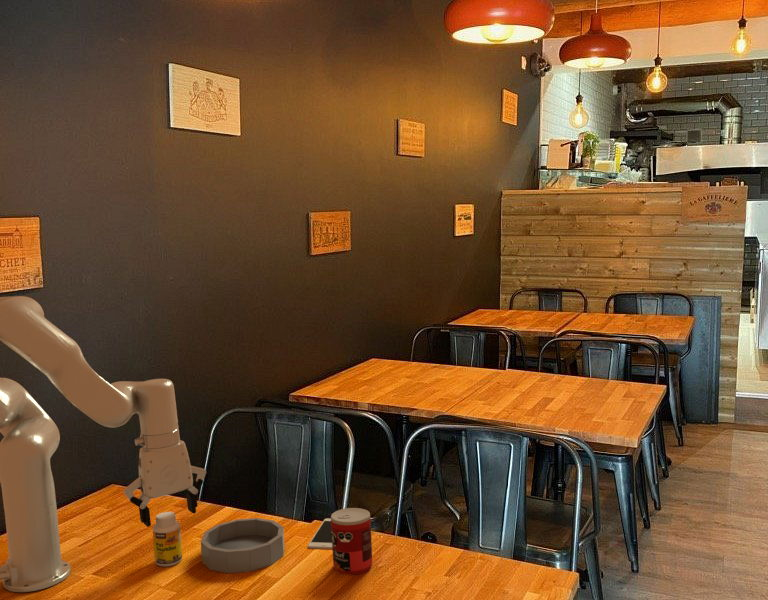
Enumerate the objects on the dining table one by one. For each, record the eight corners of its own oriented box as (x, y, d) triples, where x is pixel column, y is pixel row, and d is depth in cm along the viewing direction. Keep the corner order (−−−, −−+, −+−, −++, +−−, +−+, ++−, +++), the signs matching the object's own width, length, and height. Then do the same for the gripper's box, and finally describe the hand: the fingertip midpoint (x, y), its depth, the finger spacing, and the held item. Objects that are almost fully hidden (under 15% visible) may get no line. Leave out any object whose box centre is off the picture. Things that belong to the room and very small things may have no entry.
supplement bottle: (153, 569, 157) (149, 521, 156) (157, 557, 162) (153, 511, 161) (180, 566, 158) (177, 518, 157) (184, 554, 163) (180, 509, 162)
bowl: (221, 580, 150) (220, 558, 150) (191, 552, 164) (190, 532, 164) (298, 556, 160) (296, 535, 159) (263, 531, 174) (262, 512, 173)
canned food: (328, 563, 156) (325, 512, 155) (364, 555, 159) (361, 504, 158) (341, 579, 149) (338, 525, 148) (378, 570, 152) (376, 517, 151)
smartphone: (307, 549, 164) (307, 545, 164) (325, 521, 179) (325, 517, 179) (339, 551, 162) (339, 546, 162) (354, 522, 178) (354, 518, 178)
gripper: (123, 452, 149) (133, 535, 151) (207, 433, 159) (215, 511, 161) (113, 445, 156) (123, 524, 157) (194, 426, 165) (202, 502, 167)
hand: (170, 518), depth 159 cm, fingers open, 9 cm apart
